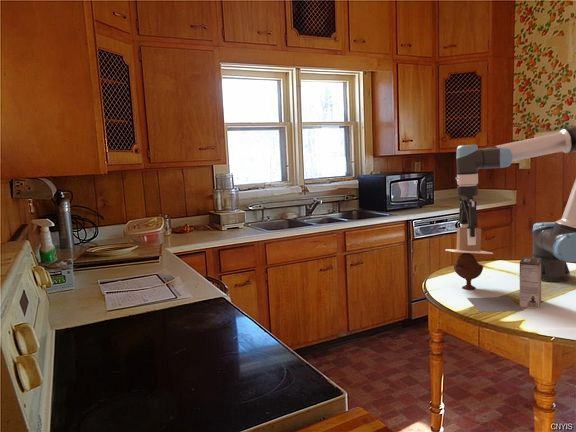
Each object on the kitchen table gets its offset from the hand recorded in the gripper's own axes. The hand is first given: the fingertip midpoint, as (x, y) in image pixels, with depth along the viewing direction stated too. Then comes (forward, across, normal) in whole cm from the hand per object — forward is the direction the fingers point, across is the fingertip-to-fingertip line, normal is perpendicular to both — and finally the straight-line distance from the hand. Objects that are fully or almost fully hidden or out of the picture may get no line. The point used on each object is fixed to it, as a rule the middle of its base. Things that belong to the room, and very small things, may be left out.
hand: (468, 242), depth 171 cm
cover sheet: (+4, 0, 0) cm, 4 cm away
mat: (+19, +19, +3) cm, 27 cm away
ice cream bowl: (+19, 0, 0) cm, 19 cm away
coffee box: (+19, +20, +15) cm, 31 cm away
